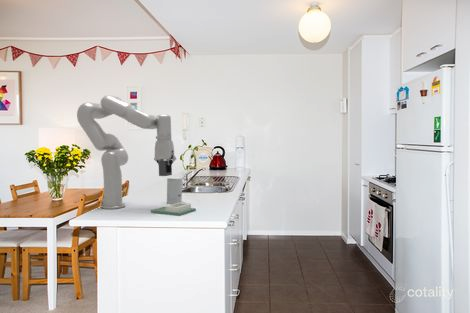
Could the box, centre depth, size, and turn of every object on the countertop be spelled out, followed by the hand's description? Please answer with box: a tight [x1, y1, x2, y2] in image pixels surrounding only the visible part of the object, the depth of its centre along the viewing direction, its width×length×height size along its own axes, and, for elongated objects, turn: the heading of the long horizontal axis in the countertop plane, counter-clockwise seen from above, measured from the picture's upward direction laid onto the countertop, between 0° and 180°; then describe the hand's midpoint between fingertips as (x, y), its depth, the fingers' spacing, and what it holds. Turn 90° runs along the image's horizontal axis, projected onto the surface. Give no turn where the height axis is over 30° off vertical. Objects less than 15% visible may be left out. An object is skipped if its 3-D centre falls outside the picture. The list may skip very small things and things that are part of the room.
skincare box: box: [166, 176, 183, 205], centre depth 219 cm, size 8×6×15 cm
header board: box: [150, 202, 197, 217], centre depth 194 cm, size 18×14×4 cm
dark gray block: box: [158, 160, 173, 177], centre depth 202 cm, size 4×7×8 cm, turn 154°
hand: (165, 172), depth 202 cm, fingers closed on dark gray block, 4 cm apart
